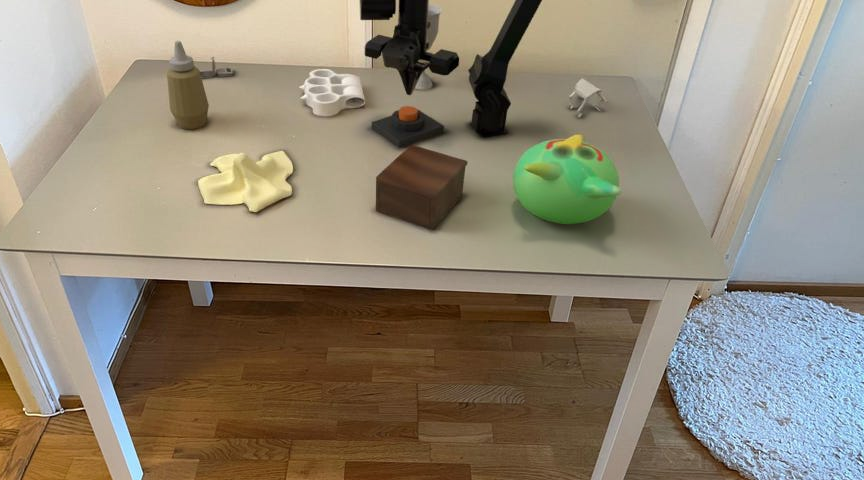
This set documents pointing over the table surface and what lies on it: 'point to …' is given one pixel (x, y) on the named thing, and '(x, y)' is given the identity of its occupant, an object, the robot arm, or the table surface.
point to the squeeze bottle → (186, 91)
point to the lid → (422, 171)
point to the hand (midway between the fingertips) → (409, 94)
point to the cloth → (248, 180)
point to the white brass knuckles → (332, 92)
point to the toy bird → (566, 181)
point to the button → (408, 113)
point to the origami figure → (587, 93)
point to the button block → (407, 129)
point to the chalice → (430, 42)
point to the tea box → (418, 203)
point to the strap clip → (220, 72)
